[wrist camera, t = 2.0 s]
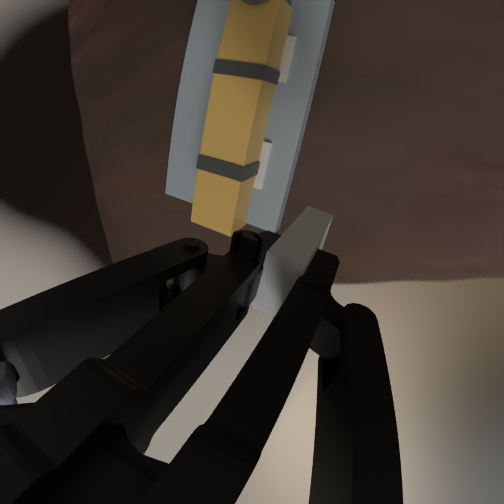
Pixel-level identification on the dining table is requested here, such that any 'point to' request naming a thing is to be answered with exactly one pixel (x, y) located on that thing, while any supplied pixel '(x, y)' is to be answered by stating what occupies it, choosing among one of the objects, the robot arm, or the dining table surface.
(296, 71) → the power panel
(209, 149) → the banded tan post
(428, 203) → the dining table surface
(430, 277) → the dining table surface
